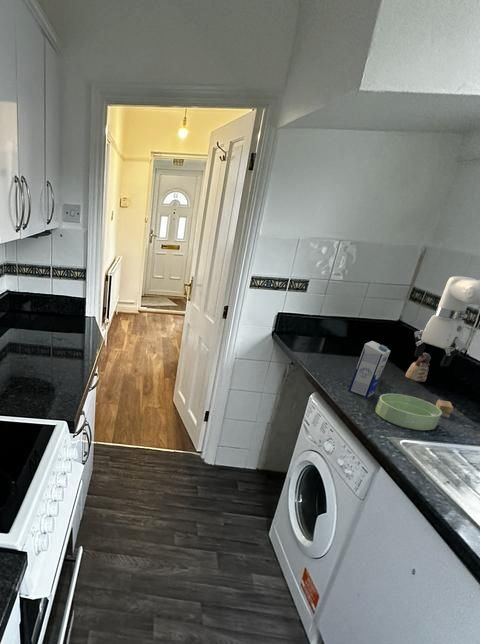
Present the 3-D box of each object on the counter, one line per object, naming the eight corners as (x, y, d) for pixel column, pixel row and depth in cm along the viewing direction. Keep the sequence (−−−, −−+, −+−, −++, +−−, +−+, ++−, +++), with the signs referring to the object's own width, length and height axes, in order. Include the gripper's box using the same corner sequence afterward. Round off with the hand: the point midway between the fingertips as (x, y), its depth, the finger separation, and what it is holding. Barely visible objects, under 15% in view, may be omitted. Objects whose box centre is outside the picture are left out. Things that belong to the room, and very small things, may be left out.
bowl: (431, 416, 143) (437, 402, 141) (439, 437, 129) (446, 421, 127) (374, 403, 151) (379, 389, 149) (375, 421, 137) (380, 406, 135)
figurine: (428, 382, 173) (440, 355, 168) (417, 383, 171) (429, 356, 166) (412, 375, 179) (423, 349, 174) (400, 376, 177) (411, 350, 172)
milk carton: (355, 388, 162) (372, 340, 154) (373, 394, 158) (392, 345, 149) (347, 392, 158) (365, 343, 150) (366, 399, 154) (385, 349, 145)
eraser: (446, 411, 148) (450, 401, 146) (449, 417, 143) (453, 408, 141) (434, 408, 149) (438, 399, 148) (436, 415, 144) (440, 405, 143)
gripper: (484, 320, 134) (463, 369, 141) (432, 307, 149) (415, 352, 156) (468, 320, 132) (447, 370, 139) (417, 308, 147) (400, 353, 154)
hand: (430, 360), depth 148 cm, fingers open, 9 cm apart
